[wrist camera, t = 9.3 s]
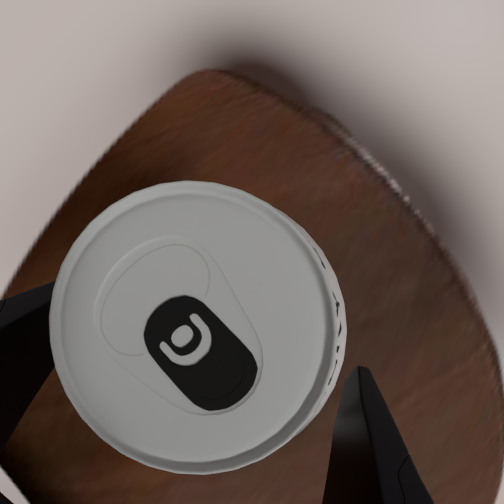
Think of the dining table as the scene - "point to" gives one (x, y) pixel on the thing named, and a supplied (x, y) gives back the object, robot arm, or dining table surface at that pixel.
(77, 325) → the energy drink can
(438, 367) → the dining table surface
